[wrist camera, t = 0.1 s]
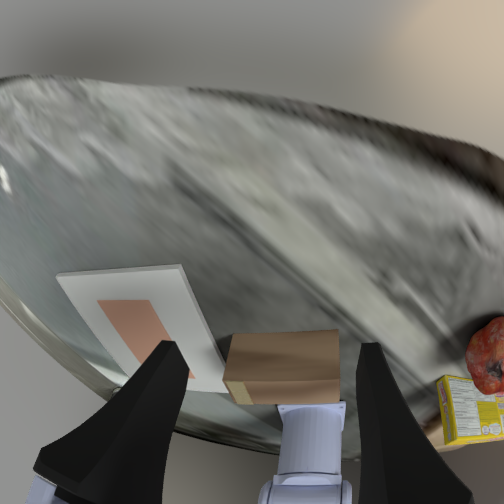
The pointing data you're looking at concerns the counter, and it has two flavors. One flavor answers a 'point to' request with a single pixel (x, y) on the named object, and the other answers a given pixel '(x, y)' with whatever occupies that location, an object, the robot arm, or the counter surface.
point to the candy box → (469, 412)
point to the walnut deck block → (284, 368)
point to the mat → (147, 318)
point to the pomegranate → (487, 357)
